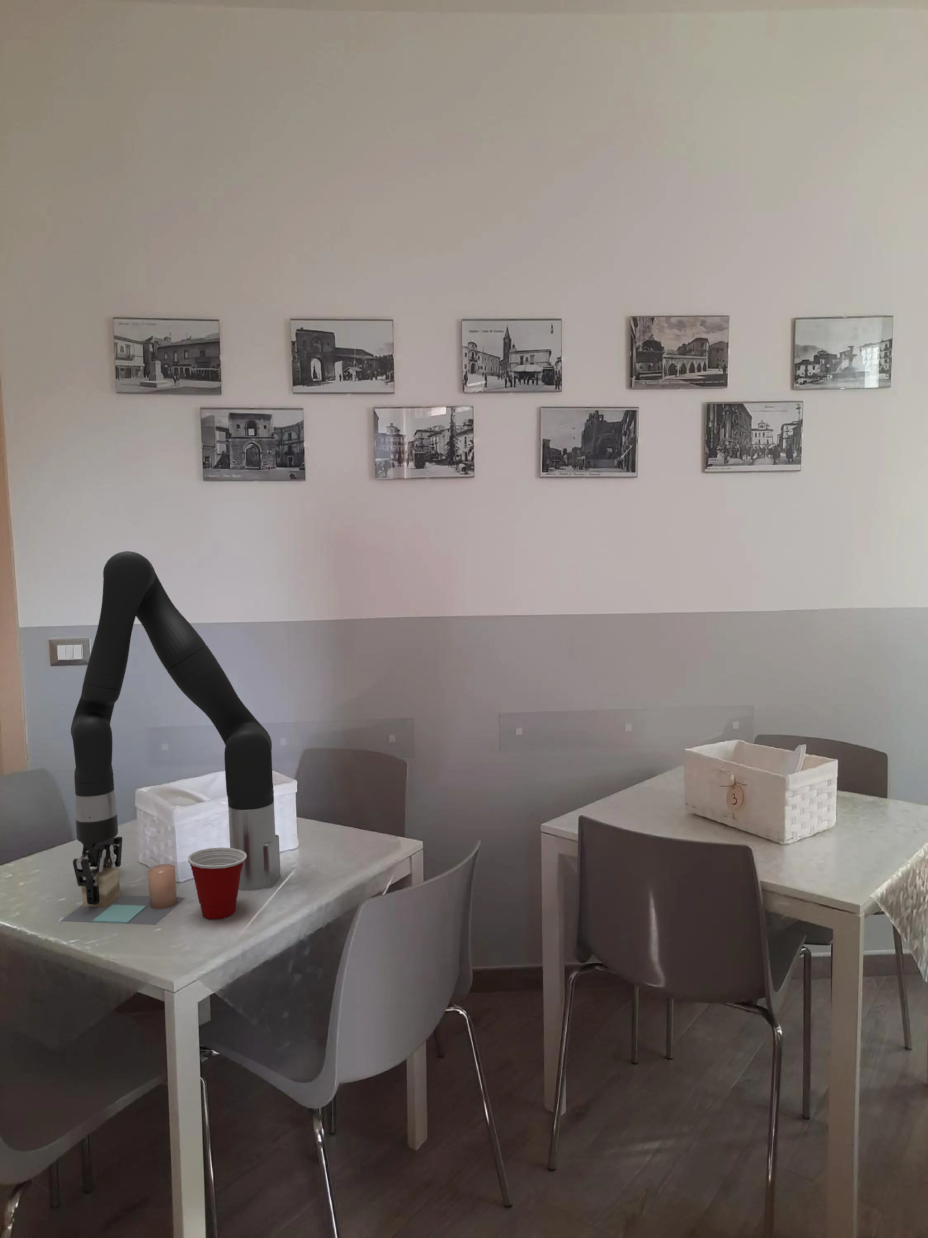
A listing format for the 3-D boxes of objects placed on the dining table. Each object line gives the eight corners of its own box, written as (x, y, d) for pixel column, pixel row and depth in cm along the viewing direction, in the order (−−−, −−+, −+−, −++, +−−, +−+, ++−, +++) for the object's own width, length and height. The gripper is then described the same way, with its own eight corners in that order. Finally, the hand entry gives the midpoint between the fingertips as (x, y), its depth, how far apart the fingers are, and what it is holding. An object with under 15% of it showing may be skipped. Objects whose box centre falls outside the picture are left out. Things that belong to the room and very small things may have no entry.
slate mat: (185, 900, 167) (184, 897, 167) (155, 927, 155) (155, 924, 155) (96, 897, 170) (96, 894, 170) (60, 924, 158) (60, 921, 158)
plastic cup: (256, 919, 158) (253, 857, 157) (197, 933, 153) (194, 869, 152) (241, 899, 167) (238, 840, 166) (185, 911, 162) (182, 851, 161)
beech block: (120, 896, 168) (118, 867, 168) (106, 907, 163) (104, 877, 163) (96, 895, 169) (95, 866, 169) (82, 906, 164) (80, 876, 164)
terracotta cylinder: (181, 898, 167) (179, 864, 166) (169, 909, 162) (167, 874, 161) (157, 897, 167) (155, 863, 167) (145, 908, 162) (143, 873, 162)
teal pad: (146, 907, 163) (146, 906, 163) (127, 923, 156) (127, 922, 156) (112, 906, 164) (112, 904, 164) (92, 922, 157) (92, 920, 157)
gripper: (93, 826, 157) (99, 914, 159) (133, 803, 171) (137, 884, 173) (56, 826, 158) (62, 913, 160) (98, 802, 172) (103, 883, 174)
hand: (101, 897), depth 166 cm, fingers closed on beech block, 5 cm apart
